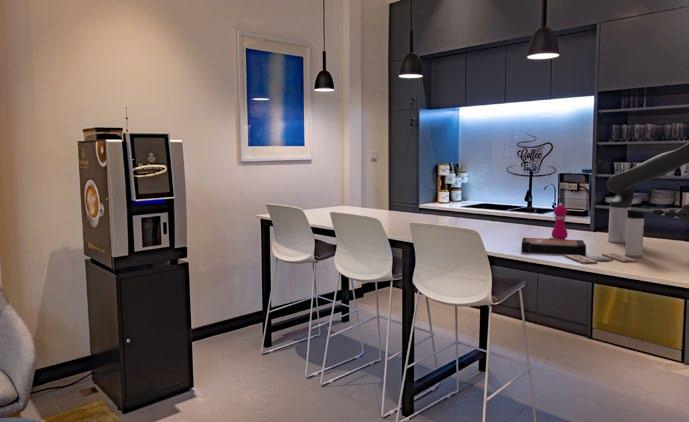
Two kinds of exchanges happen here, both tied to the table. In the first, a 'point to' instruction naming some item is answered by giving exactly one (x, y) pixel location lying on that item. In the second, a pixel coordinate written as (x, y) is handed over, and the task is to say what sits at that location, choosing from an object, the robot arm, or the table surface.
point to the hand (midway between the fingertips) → (658, 213)
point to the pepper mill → (560, 222)
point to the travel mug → (634, 234)
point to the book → (553, 246)
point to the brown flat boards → (600, 258)
